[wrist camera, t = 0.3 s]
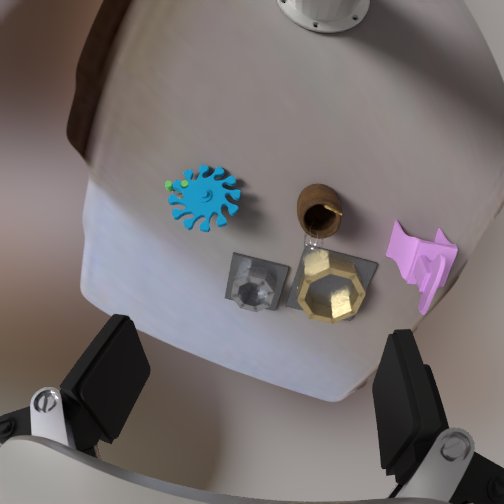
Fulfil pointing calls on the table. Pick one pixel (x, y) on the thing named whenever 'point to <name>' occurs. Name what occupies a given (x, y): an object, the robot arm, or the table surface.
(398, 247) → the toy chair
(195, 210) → the gear
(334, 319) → the wide socket
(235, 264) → the narrow socket
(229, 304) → the table surface
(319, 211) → the utensil holder
